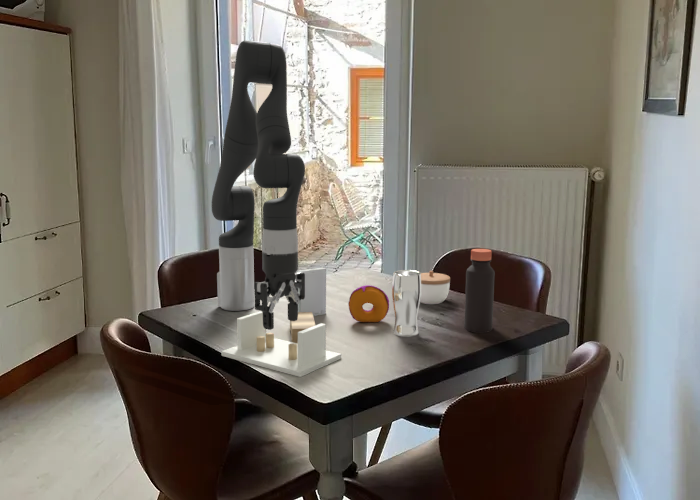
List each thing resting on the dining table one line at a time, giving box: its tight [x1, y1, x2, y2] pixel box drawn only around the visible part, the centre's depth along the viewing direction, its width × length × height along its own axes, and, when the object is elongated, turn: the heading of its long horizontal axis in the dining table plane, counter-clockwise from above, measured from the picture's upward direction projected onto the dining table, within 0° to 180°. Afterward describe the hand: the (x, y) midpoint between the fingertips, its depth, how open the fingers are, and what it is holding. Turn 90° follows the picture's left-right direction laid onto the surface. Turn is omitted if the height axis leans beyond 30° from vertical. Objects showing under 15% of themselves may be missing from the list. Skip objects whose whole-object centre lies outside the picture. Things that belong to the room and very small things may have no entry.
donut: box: [348, 284, 390, 323], centre depth 178 cm, size 8×9×10 cm
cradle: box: [221, 310, 342, 378], centre depth 152 cm, size 22×14×8 cm, turn 55°
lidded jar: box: [420, 270, 451, 305], centre depth 198 cm, size 11×11×9 cm
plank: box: [289, 312, 317, 343], centre depth 168 cm, size 14×6×4 cm, turn 7°
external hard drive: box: [296, 267, 327, 317], centre depth 184 cm, size 2×8×12 cm, turn 123°
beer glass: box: [391, 269, 422, 338], centre depth 169 cm, size 7×7×15 cm
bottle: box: [463, 248, 496, 334], centre depth 171 cm, size 7×7×20 cm
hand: (280, 324), depth 151 cm, fingers open, 7 cm apart
